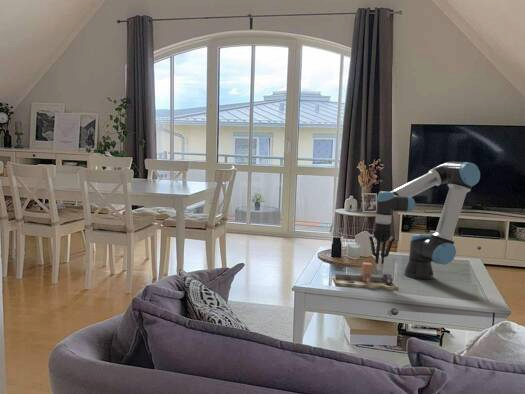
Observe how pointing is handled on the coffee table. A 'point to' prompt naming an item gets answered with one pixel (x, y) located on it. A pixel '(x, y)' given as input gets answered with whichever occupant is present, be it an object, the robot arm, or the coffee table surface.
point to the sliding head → (366, 271)
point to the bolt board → (365, 284)
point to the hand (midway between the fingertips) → (378, 270)
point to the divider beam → (384, 277)
